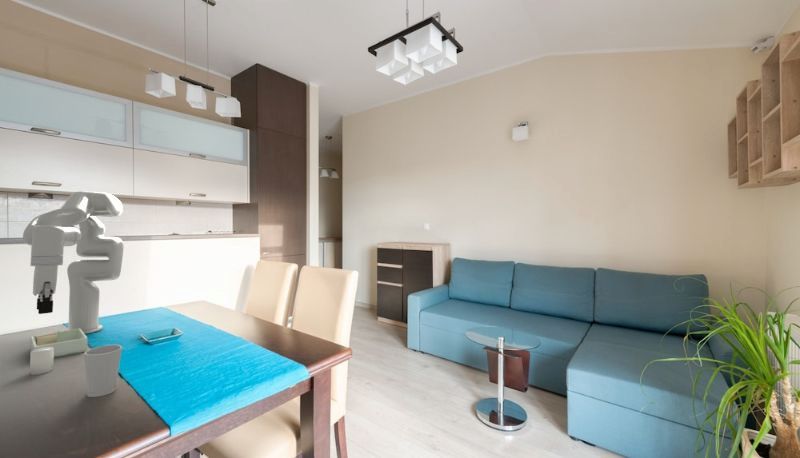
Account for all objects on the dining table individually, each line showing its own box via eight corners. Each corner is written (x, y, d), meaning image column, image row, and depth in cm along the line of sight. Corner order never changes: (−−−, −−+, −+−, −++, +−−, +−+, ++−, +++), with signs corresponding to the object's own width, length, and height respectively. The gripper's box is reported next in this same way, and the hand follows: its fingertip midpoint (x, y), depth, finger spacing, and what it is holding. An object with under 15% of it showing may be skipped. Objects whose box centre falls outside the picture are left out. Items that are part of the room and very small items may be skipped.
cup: (127, 385, 96) (129, 345, 96) (100, 399, 88) (102, 355, 88) (103, 383, 96) (105, 343, 96) (74, 397, 88) (76, 353, 88)
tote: (30, 349, 120) (31, 335, 120) (79, 340, 131) (80, 328, 131) (33, 361, 110) (34, 347, 110) (87, 351, 120) (87, 337, 120)
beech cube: (35, 348, 120) (36, 335, 120) (55, 345, 123) (55, 332, 123) (36, 352, 116) (37, 338, 116) (56, 348, 120) (57, 335, 120)
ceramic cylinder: (33, 370, 104) (33, 348, 104) (55, 366, 106) (55, 345, 106) (27, 376, 99) (27, 353, 100) (50, 372, 102) (51, 350, 102)
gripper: (29, 260, 113) (26, 309, 113) (31, 263, 102) (28, 317, 102) (60, 259, 119) (57, 305, 118) (65, 262, 108) (62, 313, 107)
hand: (44, 311), depth 110 cm, fingers open, 9 cm apart
